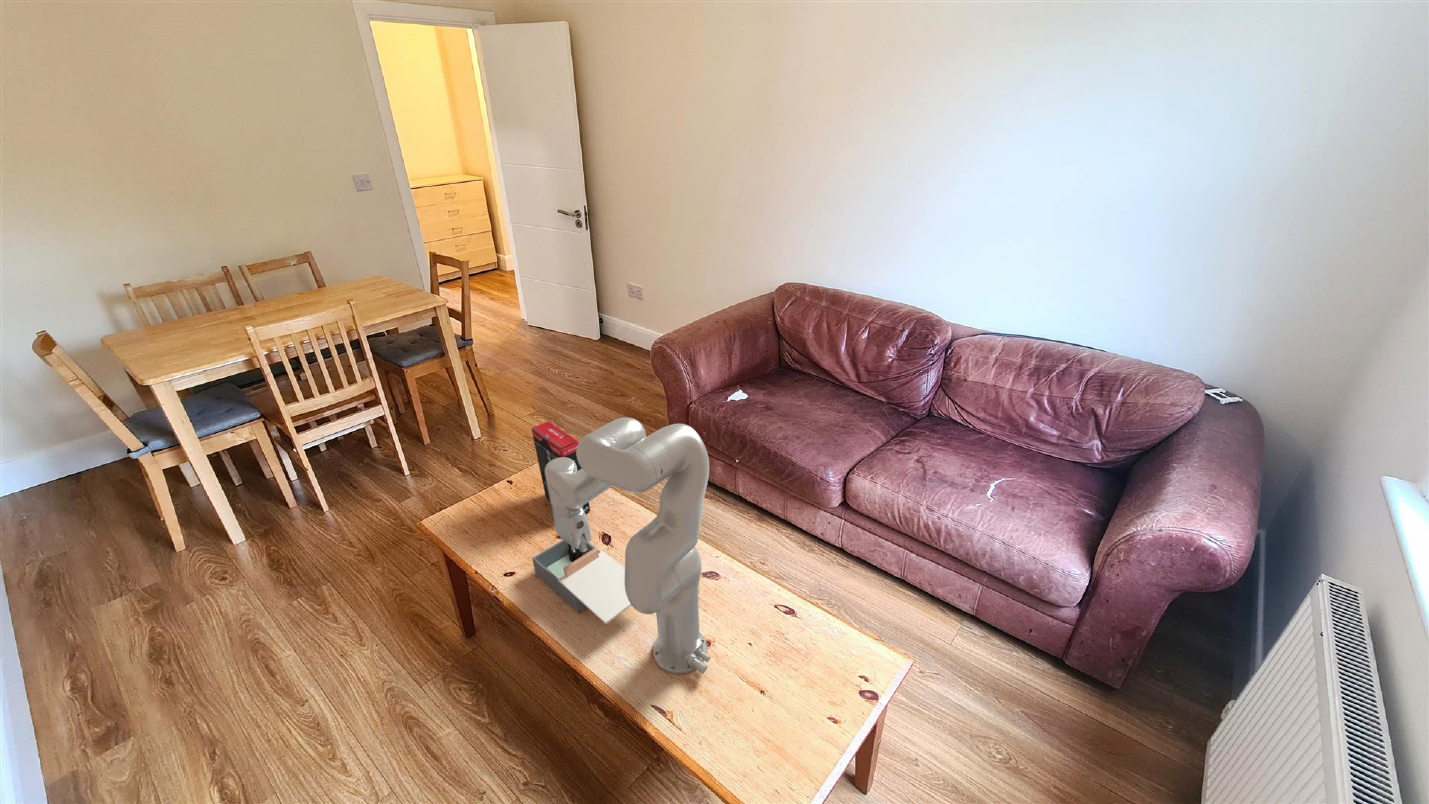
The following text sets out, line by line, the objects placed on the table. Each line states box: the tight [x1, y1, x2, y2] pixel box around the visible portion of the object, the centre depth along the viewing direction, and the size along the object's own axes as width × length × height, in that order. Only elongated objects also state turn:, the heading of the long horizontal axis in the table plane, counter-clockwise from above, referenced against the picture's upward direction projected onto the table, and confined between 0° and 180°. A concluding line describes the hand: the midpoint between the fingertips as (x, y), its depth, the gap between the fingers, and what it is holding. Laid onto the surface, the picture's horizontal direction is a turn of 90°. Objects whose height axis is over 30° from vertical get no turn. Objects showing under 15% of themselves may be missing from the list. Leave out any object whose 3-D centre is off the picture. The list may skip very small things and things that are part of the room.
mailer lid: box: [558, 547, 633, 625], centre depth 144 cm, size 20×14×3 cm
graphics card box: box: [531, 421, 591, 515], centre depth 177 cm, size 17×7×27 cm, turn 46°
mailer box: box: [532, 539, 601, 615], centre depth 155 cm, size 20×14×6 cm
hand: (576, 559), depth 152 cm, fingers closed
